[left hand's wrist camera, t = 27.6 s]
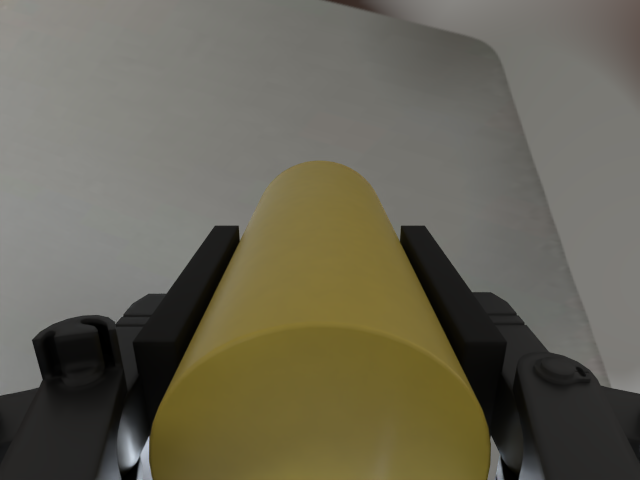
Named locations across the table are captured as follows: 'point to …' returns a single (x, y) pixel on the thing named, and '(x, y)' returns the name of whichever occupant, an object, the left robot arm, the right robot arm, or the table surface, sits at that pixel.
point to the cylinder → (319, 354)
